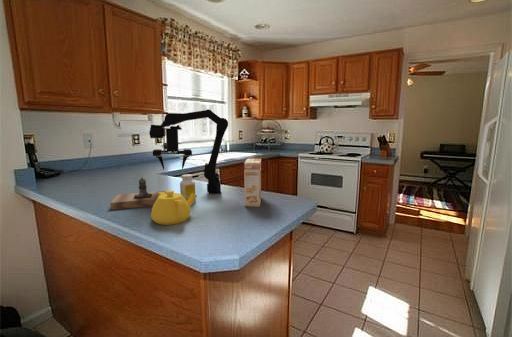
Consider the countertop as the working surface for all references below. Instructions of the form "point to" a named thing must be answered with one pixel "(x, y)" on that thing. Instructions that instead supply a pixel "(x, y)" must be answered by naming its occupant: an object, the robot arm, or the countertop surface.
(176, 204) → the teapot
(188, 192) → the supplement bottle
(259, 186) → the coffeecake box
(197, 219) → the countertop surface
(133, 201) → the board
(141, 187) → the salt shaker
